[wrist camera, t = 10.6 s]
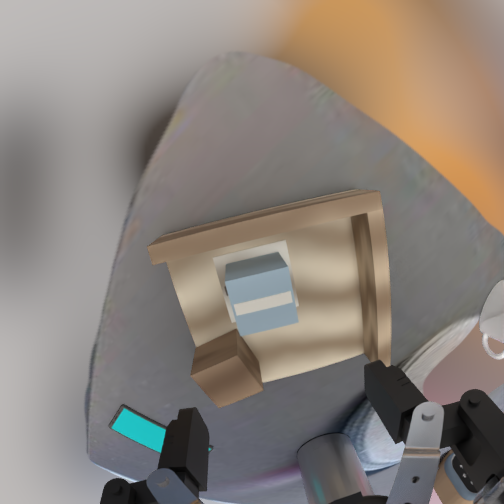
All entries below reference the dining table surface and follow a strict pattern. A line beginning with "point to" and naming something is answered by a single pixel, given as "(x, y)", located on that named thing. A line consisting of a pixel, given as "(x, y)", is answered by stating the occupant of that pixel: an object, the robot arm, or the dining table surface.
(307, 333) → the tray
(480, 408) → the robot arm
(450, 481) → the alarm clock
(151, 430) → the flat teal bar
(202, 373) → the walnut block
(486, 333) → the mug
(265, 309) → the block
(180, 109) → the dining table surface
